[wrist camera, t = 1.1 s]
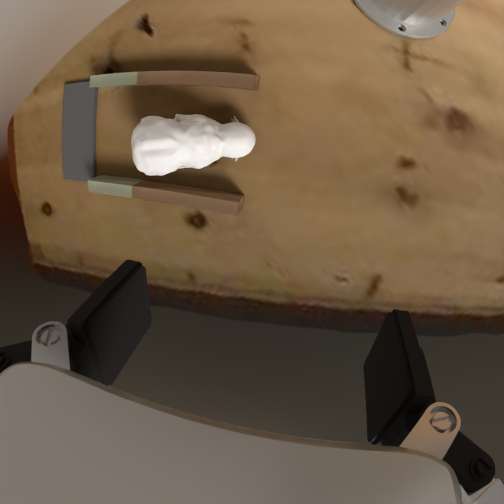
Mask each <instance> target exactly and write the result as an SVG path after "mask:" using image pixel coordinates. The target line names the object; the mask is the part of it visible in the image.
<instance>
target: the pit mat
mask: <svg viewBox="0 0 504 504" xmlns="http://www.w3.org/2000/svg"><path fill="white" fill-rule="evenodd" d="M89 86H90V81H87V82H78V83H71V84H64V99H63V173H64V179H70V180H79V181H88V180H90V179H92V178H94V177H96V169H95V135H96V108H97V92H98V87H91V88H89Z"/></svg>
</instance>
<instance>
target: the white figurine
mask: <svg viewBox="0 0 504 504" xmlns="http://www.w3.org/2000/svg"><path fill="white" fill-rule="evenodd" d="M234 118H236V117H235V116H234ZM231 119H232V118H231ZM232 120H233V119H232ZM235 120H236V122H235V121H234V120H233V121H234V122H231V123H227V124H220V123H219V122H217V121H215V120H213V119H211V118H208V117H206V116H204V115H199V114H194V115H182V114H175V118H174V119H166V118H163V117H159V116H147V117H145V118H142V119H141V121H140V124H138V125H137V126H136V127H135V129H134V131H133V133H132V138H131V144H132V156H133V161H134V164H135V166H136V168H137V169H138V170H139V171H141V172H144V173H145V174H146V175H150V176H153V175H159V176H162V175H165V174H168V173H170V172H174V171H175V170H177V169H178V168H189V167H192V168H196V169H200V168H203V167H205V166H208V165H209V164H211V163H212V162H214V161H216V160H218V159H219V158H220V157H222V156H225V157H231V158H232V159H233V158H237V159H238V158H239V157H243V156H245V155H247V154H248V153H250V152H251V150H252V149H253V147H254V145H255V135H254V132H253V130H252V129H251V128H250V127H249V126H247V125H246V124H243V123H240V122H239V121H238V119H237V118H236V119H235ZM237 159H235V160H237ZM235 162H236V161H235Z"/></svg>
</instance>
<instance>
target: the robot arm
mask: <svg viewBox="0 0 504 504" xmlns="http://www.w3.org/2000/svg"><path fill="white" fill-rule="evenodd" d="M466 1H468V0H354V2H355V4H356V5H357V6H358V8H359V9H360V10H361V11H362V12H363V14H364V15H366V16H367V17H368V18H369V19H370V20H371V21H372V22H374V23H375V24H377V25H378V26H380V27H381V28H383V29H385V30H387V31H389V32H391V33H393V34H396V35H399V36H401V37H406V38H411V39H427V38H432V37H434V36H437V35H439V34H441V33H442V32H444V31H445V30H447V29H448V28H449V27H450V25H451V23H452V21H453V19H454V15H455V8H456V7H458V6H459V5H461V4H463V3H464V2H466ZM441 23H442V25H441ZM398 28H401V29H402V31H400V30H399V29H398ZM151 320H152V317H151V310H150V302H149V294H148V286H147V277H146V269H145V267H143V266H142V263H140V262H137V261H133V260H126V261H125V262H124V263H123V264H122V265H121V266H120V267H119V268H118V269H117V270H116V271H115V272H114V273H113V274H112V275H111V276H110V277H109V278H108V279H107V280H106V281H105V282H104V283H103V284H102V285H101V286H100V287H99V288H98V289H97V290H96V291H95V292H94V293H93V294H92V295H91V296H90V297H89V298H88V299H87V300H86V301H85V302H84V303H83V304H82V305H81V306H80V307H79V308H78V309H77V311H76V312H75V313H74V314H73V315H72V316H71V317H70V318H69V319H68V320H67V321H68V323H67V324H66V325H65V326H64V325H63V324H61V323H60V322H47V323H44V324H42V325H40V326H39V327H38V328H37V329H36V330H35V331H34V333H33V337H32V340H31V341H26V342H23V343H18V344H14V345H9V346H5V347H1V348H0V504H504V486H503V484H502V483H501V481H500V479H499V478H498V479H497V480H495V478H494V475H495V464H494V462H493V460H492V458H491V457H490V456H489V455H488V454H487V453H486V452H484V451H483V450H482V449H481V448H479V447H478V446H477V445H476V444H475V443H473V442H472V441H471V440H470V439H468V438H467V437H466V436H465V435H463V434H462V433H461V432H460V431H459V428H460V418H459V414H458V413H457V411H456V410H455V409H454V408H453V407H451V406H450V405H448V404H446V403H442V402H437V403H436V400H435V396H434V391H433V387H432V383H431V379H430V375H429V372H428V368H427V364H426V360H425V357H424V353H423V351H422V349H421V348H420V347H419V343H418V340H417V337H416V333H415V330H414V327H413V324H412V321H411V317H410V314H409V312H408V311H402V310H396V309H394V310H393V311H392V313H388V314H387V315H386V317H385V320H384V322H383V324H382V327H381V329H380V331H379V333H378V335H377V338H376V340H375V342H374V344H373V346H372V348H371V350H370V352H369V355H368V356H367V359H366V361H365V363H364V380H365V395H366V411H367V412H366V413H367V439H368V442H371V443H372V444H357V443H345V442H335V441H326V440H317V439H308V438H301V437H293V436H287V435H281V434H275V433H270V432H264V431H259V430H254V429H249V428H244V427H239V426H235V425H231V424H226V423H222V422H218V421H214V420H210V419H206V418H203V417H199V416H195V415H191V414H188V413H185V412H181V411H178V410H175V409H171V408H168V407H165V406H162V405H159V404H156V403H153V402H150V401H147V400H144V399H142V398H139V397H136V396H133V395H130V394H128V393H125V392H123V391H120V390H117V389H115V388H112V387H109V386H108V384H109V385H111V384H112V383H113V382H114V381H115V379H116V378H117V376H118V375H119V373H120V371H121V370H122V368H123V367H124V365H125V364H126V362H127V361H128V359H129V358H130V356H131V354H132V353H133V351H134V350H135V348H136V347H137V345H138V344H139V342H140V340H141V339H142V338H143V336H144V334H145V333H146V332H147V330H148V329H149V327H150V325H151Z"/></svg>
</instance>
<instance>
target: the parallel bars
mask: <svg viewBox="0 0 504 504" xmlns="http://www.w3.org/2000/svg"><path fill="white" fill-rule="evenodd" d="M259 80H260V78H259V77H258V76H256V75H252V74H241V73H229V72H211V71H142V72H126V73H113V74H103V75H94V76H90V86H89V88H91V87H114V86H135V85H189V86H210V87H224V88H236V89H246V90H255V91H258V87H259ZM88 192H96V193H102V194H109V195H116V196H123V197H129V198H136V199H142V200H148V201H155V202H161V203H167V204H173V205H179V206H185V207H191V208H197V209H203V210H208V211H214V212H220V213H225V214H231V215H236V216H237V215H238V213H239V212H240V210H241V209H242V207H243V201H244V195H243V194H237V193H231V192H225V191H219V190H212V189H206V188H200V187H193V186H186V185H179V184H172V183H165V182H158V181H150V180H143V179H135V178H126V177H118V176H109V175H99V176H97V177H94V178H92V179H90V180H88Z"/></svg>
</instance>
